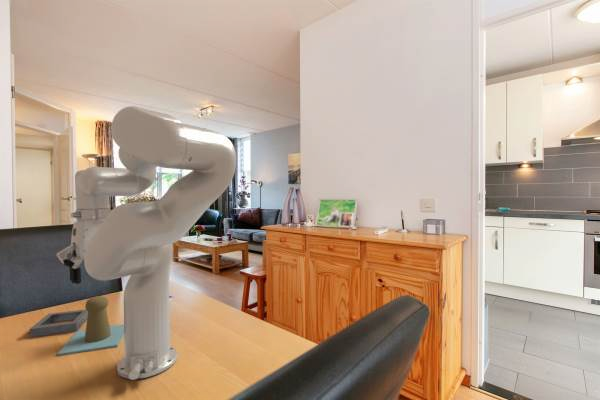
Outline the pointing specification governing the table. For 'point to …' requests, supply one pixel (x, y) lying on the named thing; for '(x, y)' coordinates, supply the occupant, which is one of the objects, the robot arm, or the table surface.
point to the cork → (97, 320)
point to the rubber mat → (80, 345)
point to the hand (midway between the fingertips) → (96, 278)
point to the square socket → (48, 328)
